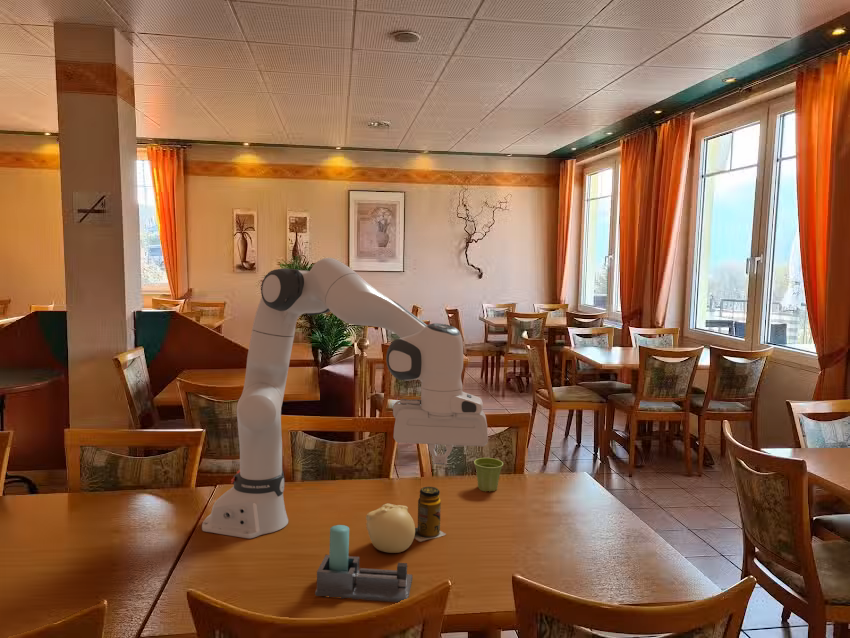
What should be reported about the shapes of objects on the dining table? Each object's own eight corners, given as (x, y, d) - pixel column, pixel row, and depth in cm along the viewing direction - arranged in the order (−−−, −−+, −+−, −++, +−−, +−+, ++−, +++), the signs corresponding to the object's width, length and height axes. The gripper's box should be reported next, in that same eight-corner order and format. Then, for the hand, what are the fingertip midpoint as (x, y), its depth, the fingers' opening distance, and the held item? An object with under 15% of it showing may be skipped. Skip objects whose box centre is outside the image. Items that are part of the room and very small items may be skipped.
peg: (327, 585, 136) (328, 532, 135) (330, 575, 140) (332, 524, 139) (346, 586, 136) (347, 533, 135) (349, 576, 140) (350, 525, 139)
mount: (412, 578, 142) (412, 557, 141) (407, 602, 132) (407, 580, 131) (326, 573, 143) (326, 552, 143) (315, 596, 133) (315, 574, 133)
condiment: (446, 535, 165) (447, 491, 163) (419, 542, 160) (420, 497, 159) (431, 525, 171) (432, 482, 170) (405, 531, 166) (405, 488, 165)
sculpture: (398, 533, 165) (399, 494, 164) (422, 551, 155) (423, 509, 154) (360, 543, 159) (360, 502, 158) (382, 562, 149) (383, 519, 148)
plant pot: (506, 486, 201) (507, 460, 200) (497, 496, 192) (498, 469, 192) (478, 481, 205) (479, 456, 204) (469, 491, 196) (469, 464, 195)
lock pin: (406, 583, 137) (407, 563, 137) (405, 586, 136) (406, 566, 135) (353, 579, 138) (353, 559, 138) (351, 583, 137) (352, 563, 136)
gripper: (391, 401, 130) (390, 466, 131) (489, 405, 128) (487, 470, 129) (395, 395, 136) (394, 456, 137) (488, 399, 134) (486, 461, 136)
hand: (440, 463), depth 133 cm, fingers closed
